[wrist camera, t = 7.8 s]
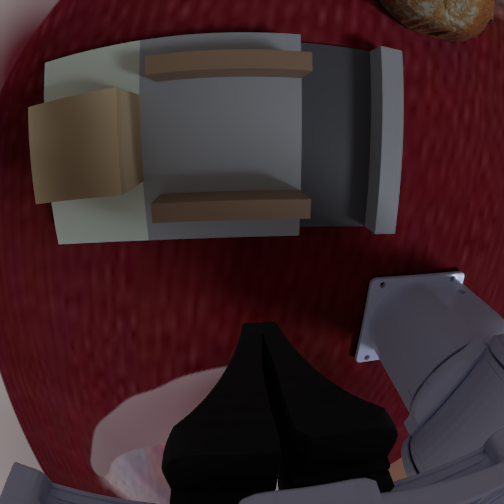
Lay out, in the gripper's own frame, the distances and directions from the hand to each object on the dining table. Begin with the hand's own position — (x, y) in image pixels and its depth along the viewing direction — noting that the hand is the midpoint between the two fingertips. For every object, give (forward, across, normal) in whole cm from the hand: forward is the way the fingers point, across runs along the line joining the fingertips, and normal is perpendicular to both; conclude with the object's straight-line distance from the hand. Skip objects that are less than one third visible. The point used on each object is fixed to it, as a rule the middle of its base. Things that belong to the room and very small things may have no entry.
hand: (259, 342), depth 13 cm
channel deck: (+9, +1, -8) cm, 12 cm away
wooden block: (+7, +8, -8) cm, 14 cm away
